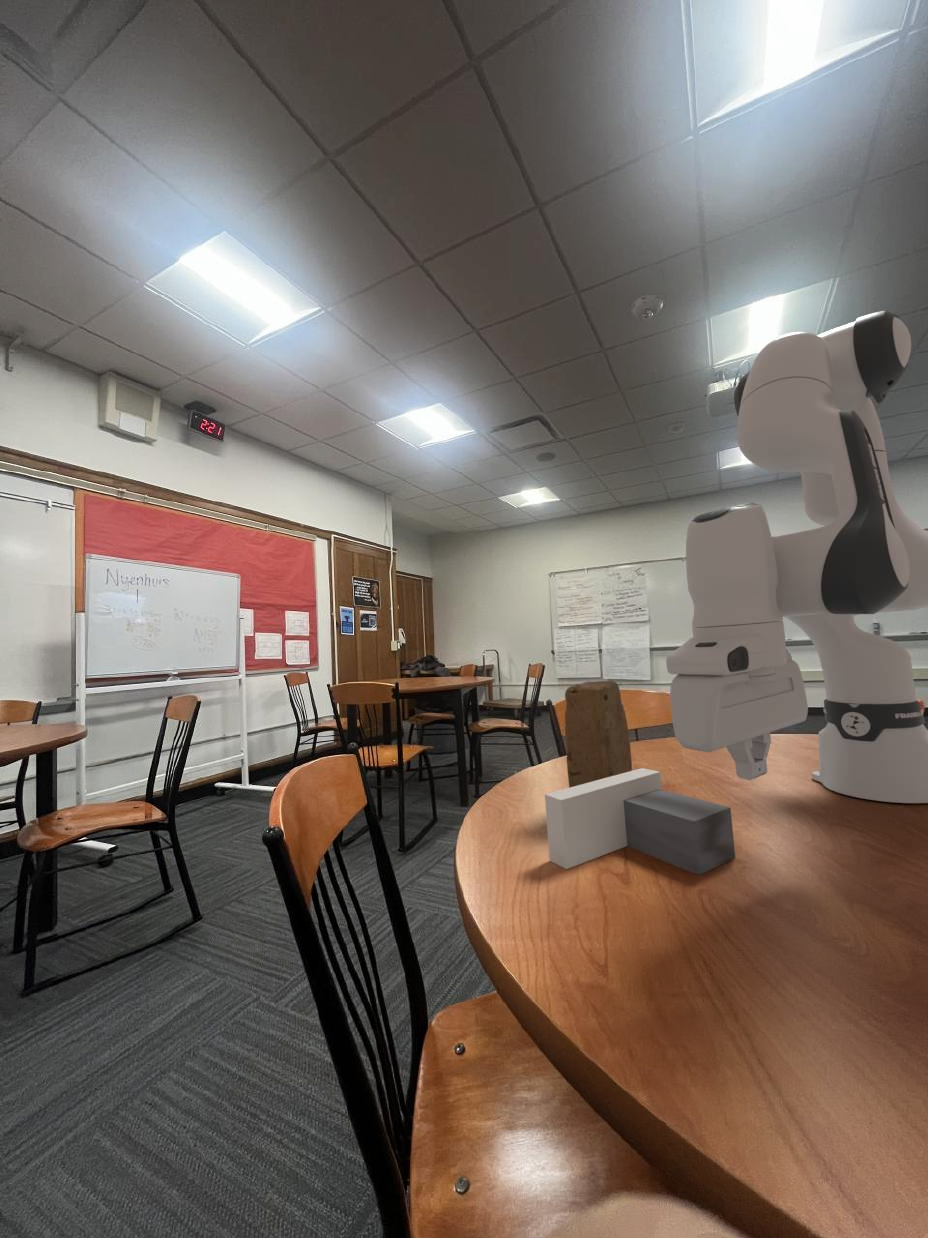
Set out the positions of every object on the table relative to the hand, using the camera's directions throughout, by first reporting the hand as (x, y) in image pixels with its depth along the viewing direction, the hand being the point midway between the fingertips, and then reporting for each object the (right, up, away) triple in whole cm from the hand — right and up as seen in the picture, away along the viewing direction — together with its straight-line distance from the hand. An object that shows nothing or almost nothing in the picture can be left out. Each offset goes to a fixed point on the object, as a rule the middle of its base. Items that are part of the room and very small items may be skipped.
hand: (752, 776), depth 53 cm
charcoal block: (-5, -12, +7) cm, 14 cm away
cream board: (-13, -12, +10) cm, 20 cm away
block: (-9, -13, +23) cm, 28 cm away
